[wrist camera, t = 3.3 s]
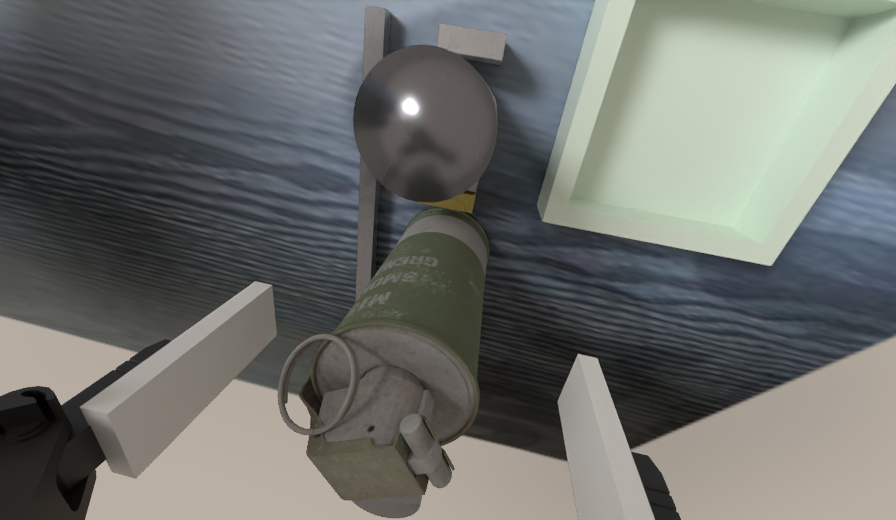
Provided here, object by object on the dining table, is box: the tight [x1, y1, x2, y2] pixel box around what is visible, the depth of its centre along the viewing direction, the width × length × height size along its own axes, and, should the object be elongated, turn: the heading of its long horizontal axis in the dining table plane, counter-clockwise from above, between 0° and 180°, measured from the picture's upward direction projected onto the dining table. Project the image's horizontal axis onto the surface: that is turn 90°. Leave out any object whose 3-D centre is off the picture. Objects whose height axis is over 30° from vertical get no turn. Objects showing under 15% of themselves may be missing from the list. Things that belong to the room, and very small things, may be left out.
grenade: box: [278, 207, 490, 500], centre depth 16 cm, size 6×6×15 cm
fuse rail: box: [352, 5, 507, 518], centre depth 17 cm, size 7×25×11 cm, turn 171°
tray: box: [537, 0, 896, 266], centre depth 16 cm, size 12×12×3 cm
